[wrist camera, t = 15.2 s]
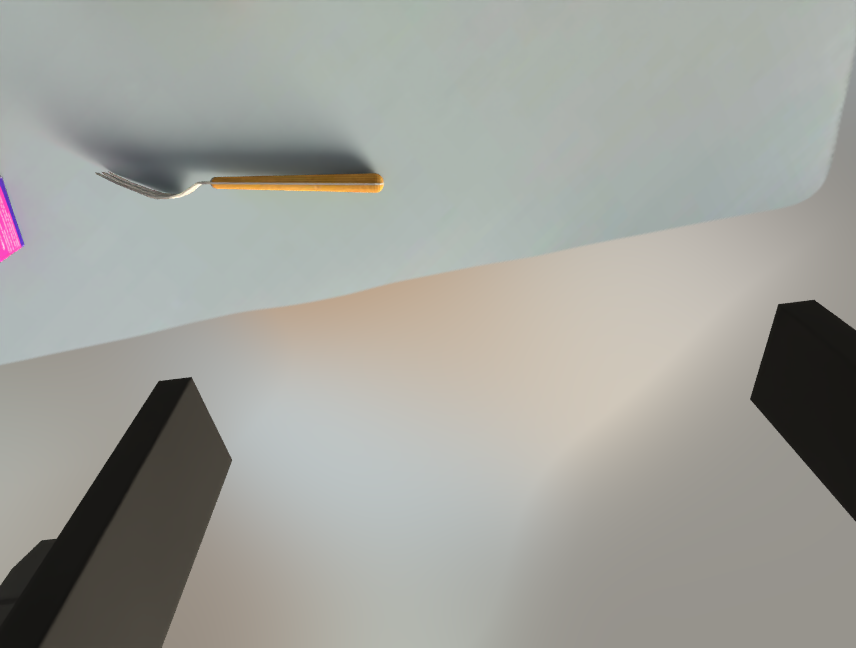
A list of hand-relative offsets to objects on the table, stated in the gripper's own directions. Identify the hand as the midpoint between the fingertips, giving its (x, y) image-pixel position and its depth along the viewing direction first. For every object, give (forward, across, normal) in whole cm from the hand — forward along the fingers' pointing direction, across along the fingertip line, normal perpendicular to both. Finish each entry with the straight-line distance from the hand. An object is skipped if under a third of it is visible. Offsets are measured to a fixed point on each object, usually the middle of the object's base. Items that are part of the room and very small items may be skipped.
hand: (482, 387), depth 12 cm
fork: (+29, -14, -2) cm, 32 cm away
